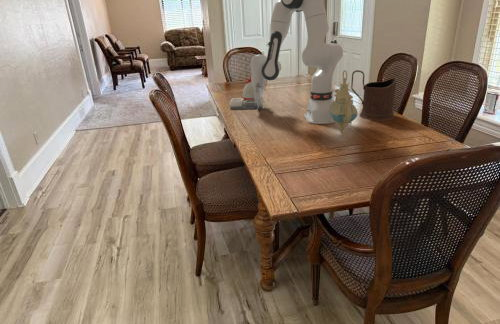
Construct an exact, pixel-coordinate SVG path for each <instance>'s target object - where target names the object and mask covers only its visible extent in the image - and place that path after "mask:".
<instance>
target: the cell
mask: <svg viewBox="0 0 500 324" xmlns="http://www.w3.org/2000/svg"><path fill="white" fill-rule="evenodd" d="M263 103H264V102H263V96H262V97H261V99H260V106H257V101H256V108H255V110H257V109H258V110H257V111H262V110H264V105H263ZM261 109H262V110H261Z"/></svg>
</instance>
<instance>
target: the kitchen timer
mask: <svg viewBox="0 0 500 324" xmlns="http://www.w3.org/2000/svg"><path fill="white" fill-rule="evenodd" d="M245 82H246V84H245V85H244V87H243V90H242V95H241V96H242V97H241V98H243V99H245V100H244V101H246V100H254V86H252V83H251V77H249V78H247V80H245Z"/></svg>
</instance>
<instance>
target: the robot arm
mask: <svg viewBox="0 0 500 324" xmlns="http://www.w3.org/2000/svg"><path fill="white" fill-rule="evenodd" d="M295 12H296V13H299V12H303V15H304V21H305V26H306V32H307V39H306V40H307V41H306V46H305V48H304V50H303V51H302V52H301V61H302V62H303V65H305V66H306V67H311V68H316V71H315V72H314V73H313V74H312V76H311V90H310V93H309V97H310V99H308V100H307V105H306V106H307V109H306V113H303V116H304V118H305V119H306V122H307V123H309V124H313V125H314V124H315V125H316V124H317V125H318V124H320V125H325V124H327V125H328V124H335V122H334V121H333V118H332V116H331V114H330V112H329V108H330V106H331V104H332V103H333V102H335V99H333V90H332V88H333V77H334V73H335V70H336V68H337V65H338V64H339V63H340V61H341V60H342V58H343V56H344V50H343V47H342V45H340V44H338V43H335V42H328V43H325V42H326V41H325V40H326V39H325V38H326V35H327V34H328V33H329V29H330V27H329V22H328V16H327V12H326V7H325V4H324V1H323V0H276V2H275V4H274V7H273V10H272V13H271V16H270V17H271V18H270V24H269V25H270V26H269V45H268V50H267V55H265V54H264V53H257V54H255V55H253V56H252V57H251V60H250V72H251V76H250V78H251V83H252V86H254V100H255V101H257V106H260V99H261V97H262V98H263V95H264V94H265V93H264V92H265V86H266V85H267V81H273V80H276V79H277V78H278V76H279V75H280V72H281V70H282V64H281V62H280V61H279V57H280V53H281V47H282V44H283V42H284V41H285V39H286V37H287V35H288V33H289V30H290V27H291V21H292V16H293V14H294V13H295Z"/></svg>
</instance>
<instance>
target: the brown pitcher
mask: <svg viewBox="0 0 500 324" xmlns="http://www.w3.org/2000/svg"><path fill="white" fill-rule="evenodd" d="M355 73H361V74H362V86H363V87H362V88H363V89H362V90H363V98H362V97H361V96H360V95H359V94H358V93H357V91H356V90H354V88H353V86H354V85H353V83H354V74H355ZM396 86H397V78H390V79H388V80H384V81H373V82H372V81H371V82H368V83H365V73H364V72H363V71H362V70H357V69H356V70H354V71H352V74H351V85H350V87H351V91H352V92H353V93H354V94H355V95H356V97H358V99H359V100H361V105H362V109H361V111H360V113H359V114H358V115H359V117H360V118H362V119H364V120H369V121H377V122H380V121H381V122H383V121H385V122H386V121H390V120H393V119H394V118H395V115H394V111H393V110H394V101H395V96H396V95H395V94H396Z"/></svg>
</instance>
